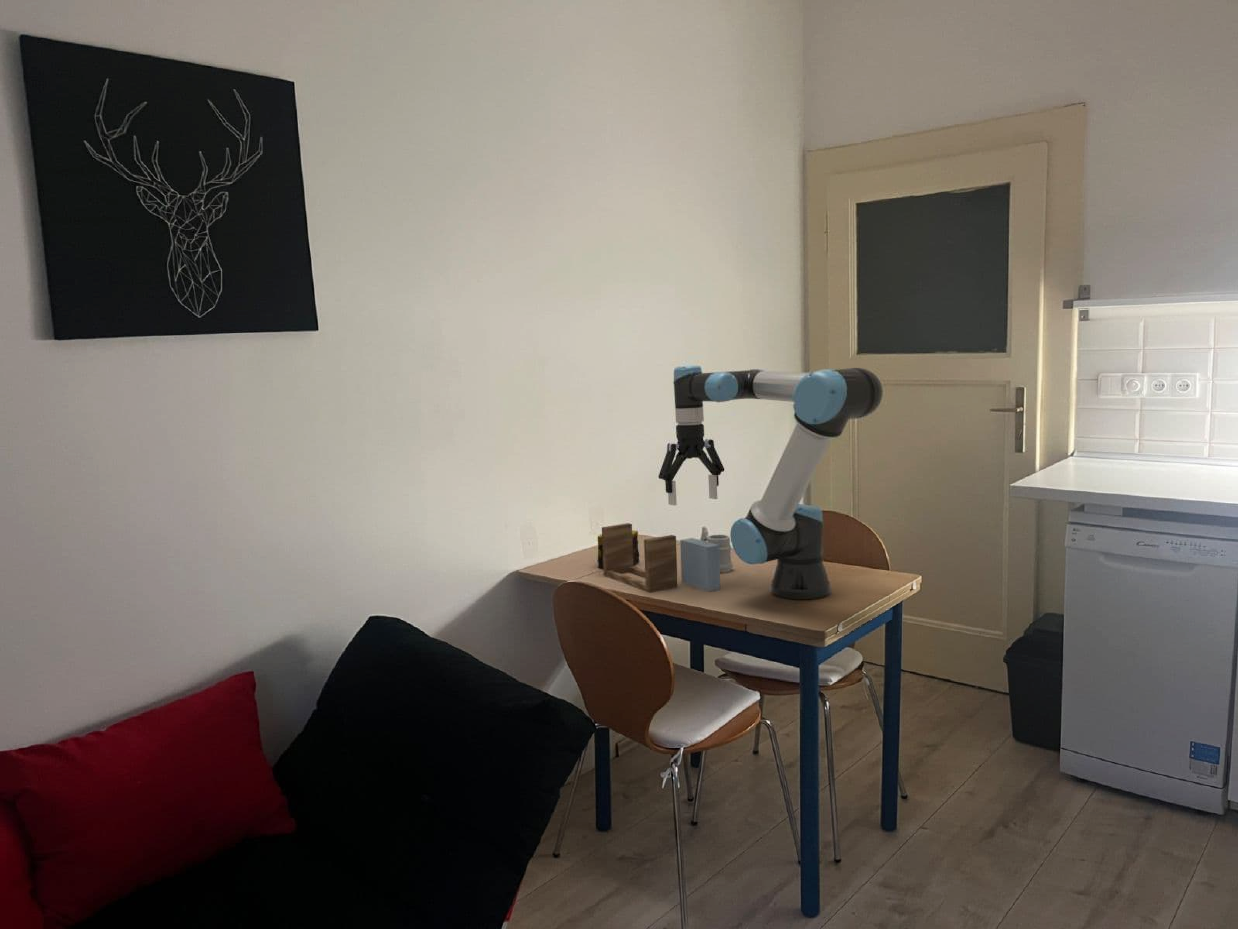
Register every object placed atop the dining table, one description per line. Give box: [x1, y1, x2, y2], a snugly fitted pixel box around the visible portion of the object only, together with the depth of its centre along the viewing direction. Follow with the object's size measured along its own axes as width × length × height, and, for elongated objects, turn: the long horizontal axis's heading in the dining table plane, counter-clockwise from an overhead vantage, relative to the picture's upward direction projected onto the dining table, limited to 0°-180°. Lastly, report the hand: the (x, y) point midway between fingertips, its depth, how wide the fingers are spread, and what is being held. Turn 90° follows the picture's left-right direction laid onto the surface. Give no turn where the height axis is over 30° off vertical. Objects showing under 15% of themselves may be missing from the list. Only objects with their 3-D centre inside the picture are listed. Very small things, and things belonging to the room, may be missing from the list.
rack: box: [601, 523, 679, 593], centre depth 257 cm, size 24×9×14 cm, turn 32°
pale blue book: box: [679, 537, 721, 592], centre depth 249 cm, size 12×4×12 cm, turn 32°
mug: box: [699, 526, 734, 574], centre depth 267 cm, size 8×12×12 cm, turn 38°
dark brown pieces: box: [597, 530, 640, 570], centre depth 276 cm, size 10×10×10 cm
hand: (693, 501), depth 250 cm, fingers open, 13 cm apart
